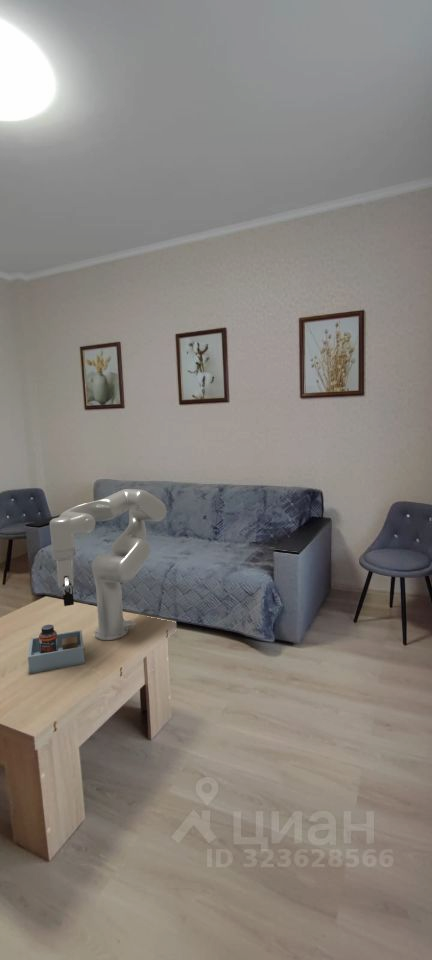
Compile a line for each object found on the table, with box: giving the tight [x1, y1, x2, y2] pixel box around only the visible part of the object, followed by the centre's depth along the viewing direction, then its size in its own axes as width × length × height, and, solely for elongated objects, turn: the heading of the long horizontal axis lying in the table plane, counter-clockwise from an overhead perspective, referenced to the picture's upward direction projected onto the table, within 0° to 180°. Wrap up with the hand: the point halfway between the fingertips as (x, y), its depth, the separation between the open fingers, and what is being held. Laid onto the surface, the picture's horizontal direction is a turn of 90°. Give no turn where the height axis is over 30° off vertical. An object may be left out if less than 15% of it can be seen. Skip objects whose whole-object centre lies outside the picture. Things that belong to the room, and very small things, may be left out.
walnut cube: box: [62, 636, 78, 650], centre depth 162 cm, size 5×5×5 cm
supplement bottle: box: [38, 624, 58, 654], centre depth 159 cm, size 6×6×11 cm
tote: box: [27, 629, 85, 674], centre depth 160 cm, size 18×15×6 cm
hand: (68, 599), depth 160 cm, fingers open, 9 cm apart
